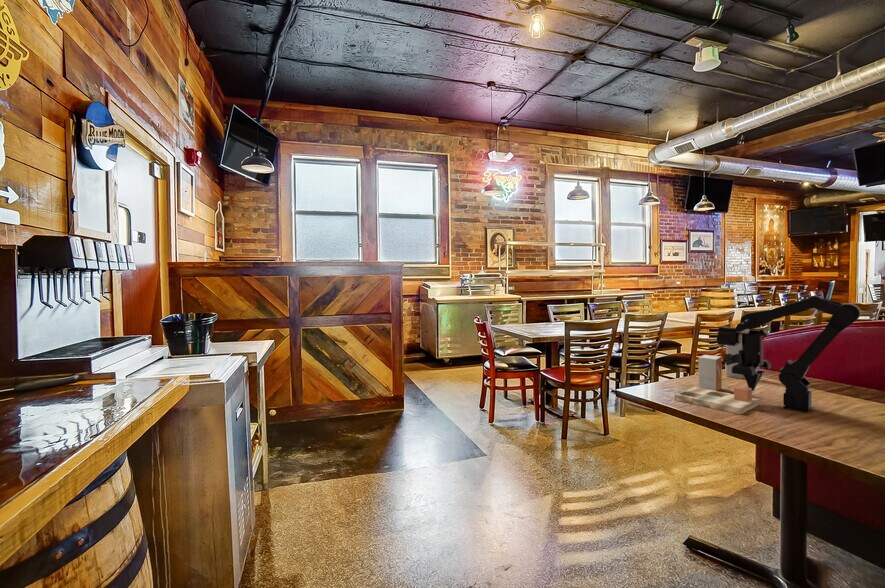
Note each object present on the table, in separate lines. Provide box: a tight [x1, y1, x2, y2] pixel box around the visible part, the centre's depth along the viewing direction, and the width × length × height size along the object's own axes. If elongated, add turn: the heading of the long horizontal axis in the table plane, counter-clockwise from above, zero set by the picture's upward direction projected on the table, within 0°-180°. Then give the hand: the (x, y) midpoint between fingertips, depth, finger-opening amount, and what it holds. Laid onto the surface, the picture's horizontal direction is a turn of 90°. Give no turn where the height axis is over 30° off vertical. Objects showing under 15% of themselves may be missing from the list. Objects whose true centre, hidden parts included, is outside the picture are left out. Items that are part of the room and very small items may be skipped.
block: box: [733, 385, 753, 402], centre depth 150 cm, size 4×4×4 cm
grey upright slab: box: [724, 329, 751, 379], centre depth 187 cm, size 11×4×22 cm, turn 61°
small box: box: [698, 354, 723, 391], centre depth 170 cm, size 8×6×13 cm
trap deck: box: [674, 386, 761, 415], centre depth 154 cm, size 21×16×2 cm
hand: (751, 390), depth 154 cm, fingers closed
